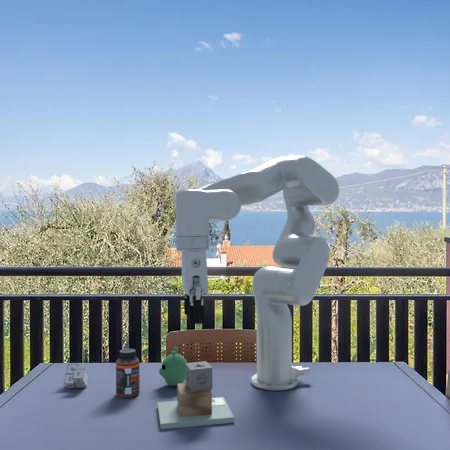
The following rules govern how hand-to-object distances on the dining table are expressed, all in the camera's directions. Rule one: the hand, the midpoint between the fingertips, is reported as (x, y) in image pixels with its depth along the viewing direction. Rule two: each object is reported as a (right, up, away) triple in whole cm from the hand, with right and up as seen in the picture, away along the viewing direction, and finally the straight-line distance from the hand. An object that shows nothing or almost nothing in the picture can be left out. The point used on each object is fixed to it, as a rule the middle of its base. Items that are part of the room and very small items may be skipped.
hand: (193, 318), depth 108 cm
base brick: (0, -21, 0) cm, 21 cm away
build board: (0, -22, 0) cm, 22 cm away
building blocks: (-33, -22, +19) cm, 44 cm away
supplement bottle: (-18, -22, +13) cm, 31 cm away
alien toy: (-7, -22, +19) cm, 30 cm away
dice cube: (+1, -16, +1) cm, 16 cm away
